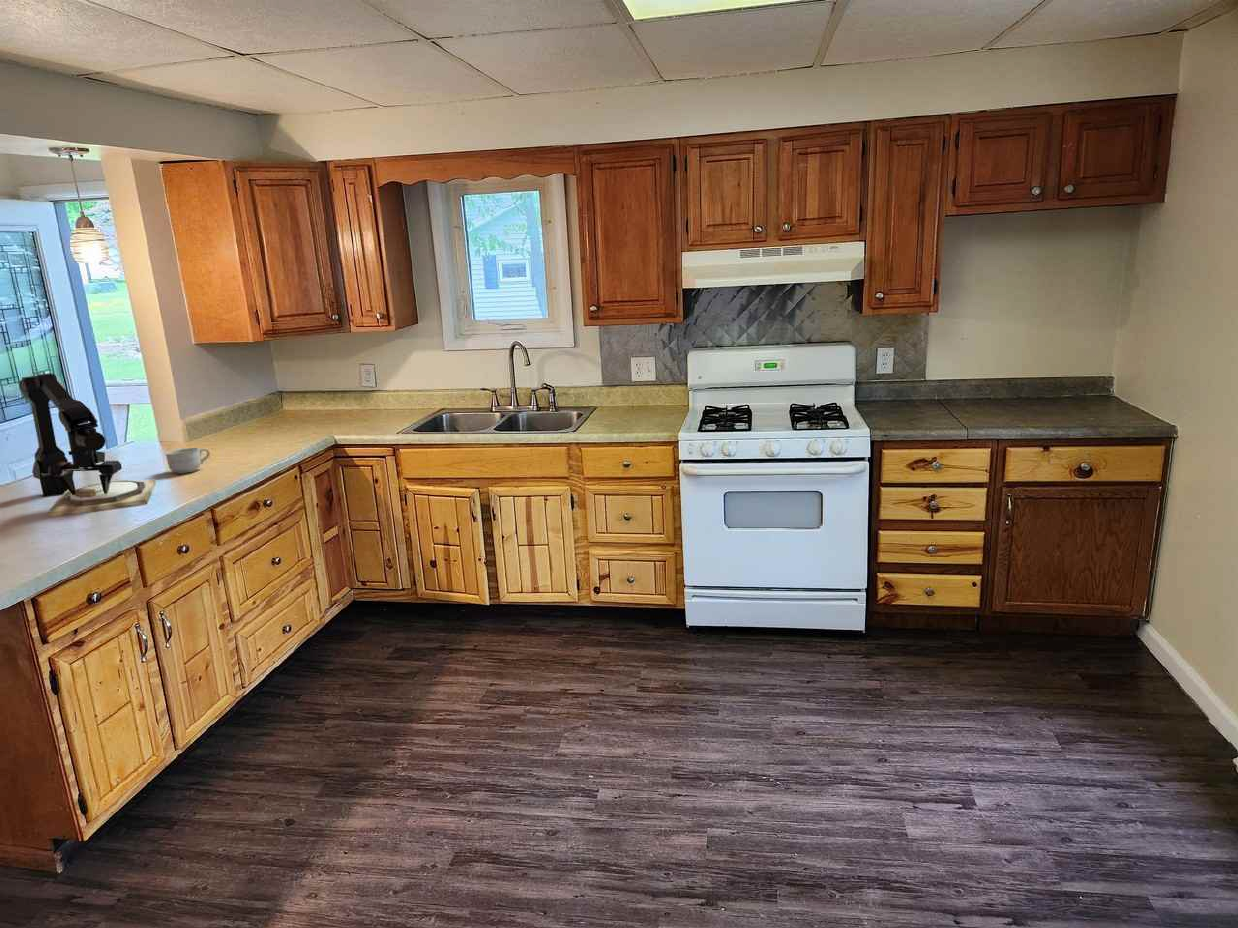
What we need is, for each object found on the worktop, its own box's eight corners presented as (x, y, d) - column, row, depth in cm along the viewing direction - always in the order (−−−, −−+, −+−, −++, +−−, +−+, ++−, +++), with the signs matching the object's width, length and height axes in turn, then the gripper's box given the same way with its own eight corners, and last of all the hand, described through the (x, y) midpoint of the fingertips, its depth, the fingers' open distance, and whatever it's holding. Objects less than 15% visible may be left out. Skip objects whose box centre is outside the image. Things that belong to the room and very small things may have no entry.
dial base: (49, 517, 241) (46, 507, 240) (66, 495, 264) (64, 486, 263) (147, 503, 251) (145, 494, 250) (156, 483, 274) (154, 475, 273)
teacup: (167, 477, 282) (163, 455, 280) (170, 470, 292) (166, 448, 290) (211, 471, 287) (207, 450, 285) (213, 465, 297) (209, 444, 295)
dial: (107, 485, 268) (104, 475, 267) (151, 487, 263) (149, 477, 262) (55, 502, 251) (53, 491, 250) (102, 505, 246) (100, 493, 245)
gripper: (125, 439, 255) (134, 485, 259) (63, 440, 253) (73, 487, 258) (108, 447, 245) (116, 496, 249) (43, 449, 243) (53, 498, 247)
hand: (90, 494), depth 251 cm, fingers open, 9 cm apart
